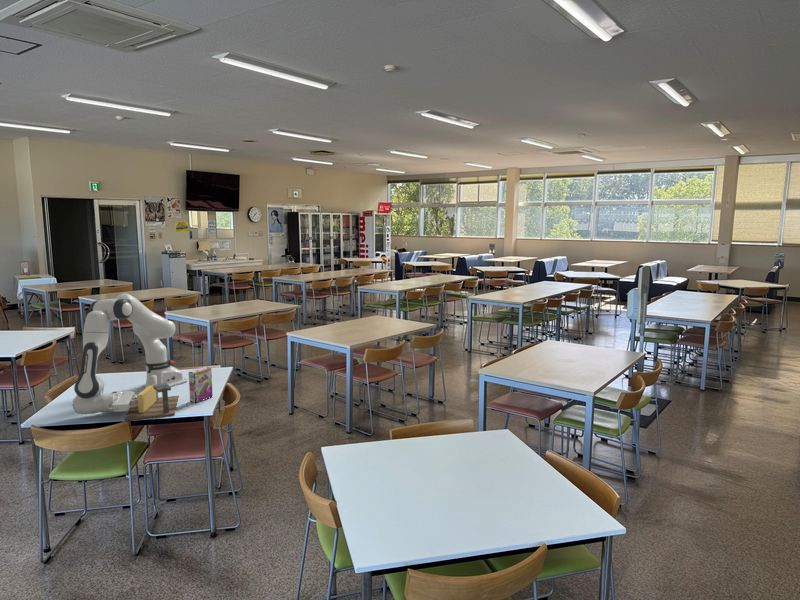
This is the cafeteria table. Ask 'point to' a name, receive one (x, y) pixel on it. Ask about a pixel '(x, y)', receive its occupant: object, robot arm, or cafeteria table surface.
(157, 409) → the pintle board
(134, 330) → the robot arm
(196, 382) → the candy bar box
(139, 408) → the yellow rectangular slab
